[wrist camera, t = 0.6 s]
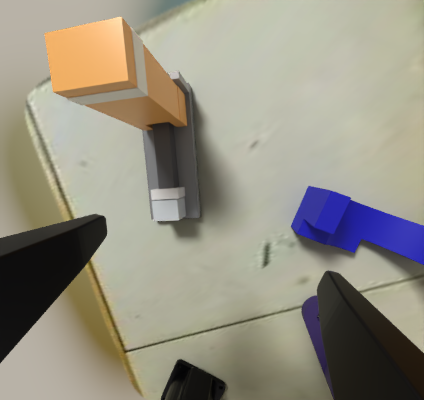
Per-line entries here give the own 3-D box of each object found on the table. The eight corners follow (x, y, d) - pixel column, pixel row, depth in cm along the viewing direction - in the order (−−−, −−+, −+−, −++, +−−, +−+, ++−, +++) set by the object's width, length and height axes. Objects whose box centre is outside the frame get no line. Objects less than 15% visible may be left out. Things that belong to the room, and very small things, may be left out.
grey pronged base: (200, 215, 24) (191, 224, 19) (155, 217, 24) (136, 226, 20) (190, 86, 22) (178, 66, 18) (142, 93, 23) (120, 76, 19)
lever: (394, 377, 23) (418, 410, 20) (338, 396, 24) (352, 429, 21) (338, 283, 22) (352, 301, 19) (284, 307, 24) (289, 327, 21)
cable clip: (290, 225, 22) (306, 244, 16) (308, 185, 22) (330, 190, 16) (407, 270, 21) (468, 307, 15) (430, 229, 20) (504, 252, 14)
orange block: (187, 126, 21) (129, 80, 11) (144, 131, 22) (52, 93, 12) (184, 94, 21) (122, 15, 10) (141, 100, 22) (43, 32, 11)
